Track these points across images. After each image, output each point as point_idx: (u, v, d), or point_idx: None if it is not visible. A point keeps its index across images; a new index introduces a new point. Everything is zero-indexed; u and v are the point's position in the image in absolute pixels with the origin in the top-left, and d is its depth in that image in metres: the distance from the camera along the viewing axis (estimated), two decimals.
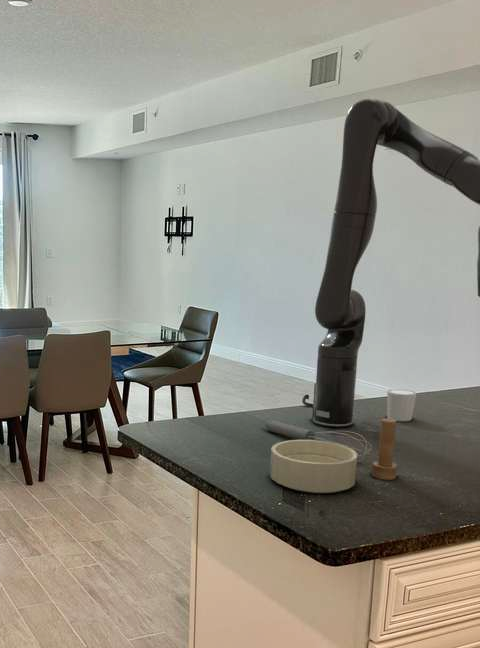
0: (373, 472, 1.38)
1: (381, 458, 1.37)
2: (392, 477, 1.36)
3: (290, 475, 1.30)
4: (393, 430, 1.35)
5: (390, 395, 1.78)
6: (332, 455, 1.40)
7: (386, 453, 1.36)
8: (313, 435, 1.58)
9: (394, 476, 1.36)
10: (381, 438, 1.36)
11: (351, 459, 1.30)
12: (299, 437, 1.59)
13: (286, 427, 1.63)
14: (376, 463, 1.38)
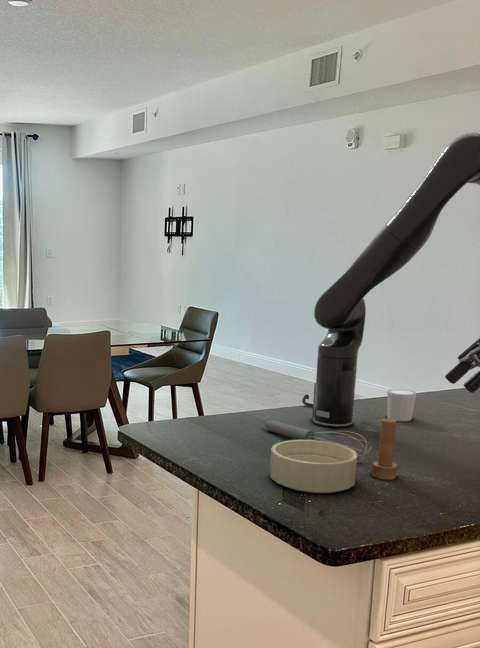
0: (373, 472, 1.38)
1: (381, 458, 1.37)
2: (392, 477, 1.36)
3: (290, 475, 1.30)
4: (393, 430, 1.35)
5: (390, 395, 1.78)
6: (332, 455, 1.40)
7: (386, 453, 1.36)
8: (313, 435, 1.58)
9: (394, 476, 1.36)
10: (381, 438, 1.36)
11: (351, 459, 1.30)
12: (299, 437, 1.59)
13: (286, 427, 1.63)
14: (376, 463, 1.38)
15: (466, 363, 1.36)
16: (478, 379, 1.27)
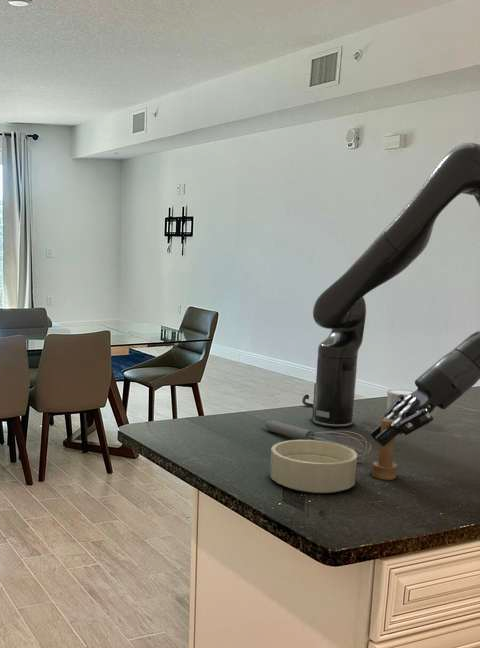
0: (373, 472, 1.38)
1: (381, 458, 1.37)
2: (392, 477, 1.36)
3: (290, 475, 1.30)
4: None
5: (390, 395, 1.78)
6: (332, 455, 1.40)
7: (386, 453, 1.36)
8: (313, 435, 1.58)
9: (394, 476, 1.36)
10: None
11: (351, 459, 1.30)
12: (299, 437, 1.59)
13: (286, 427, 1.63)
14: (376, 463, 1.38)
15: None
16: (388, 434, 1.34)
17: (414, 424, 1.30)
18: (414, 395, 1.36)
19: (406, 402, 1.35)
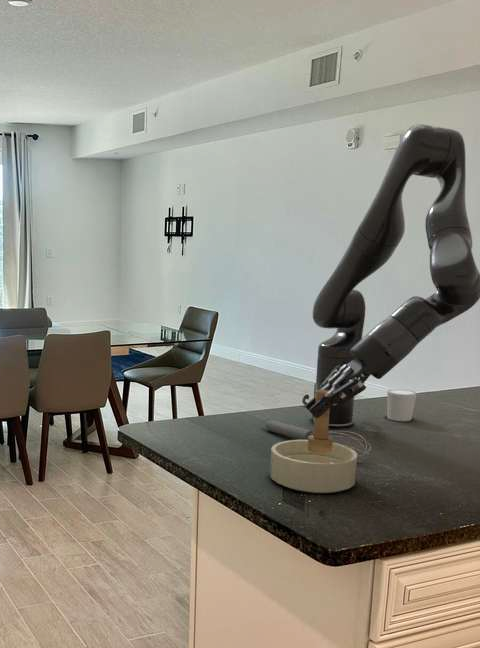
0: (308, 446, 1.32)
1: (316, 431, 1.31)
2: (327, 450, 1.31)
3: (290, 475, 1.30)
4: None
5: (390, 395, 1.78)
6: (332, 455, 1.40)
7: (321, 425, 1.30)
8: None
9: (329, 449, 1.31)
10: None
11: (351, 459, 1.30)
12: (299, 437, 1.59)
13: (286, 427, 1.63)
14: (312, 436, 1.33)
15: None
16: (321, 405, 1.28)
17: (347, 394, 1.24)
18: (350, 365, 1.30)
19: (341, 372, 1.30)
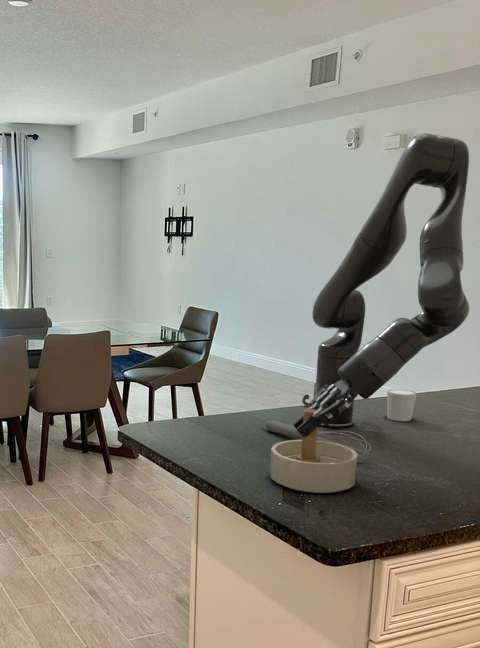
0: None
1: (304, 450, 1.32)
2: None
3: (290, 475, 1.30)
4: None
5: (390, 395, 1.78)
6: (332, 455, 1.40)
7: (309, 445, 1.32)
8: None
9: None
10: None
11: (351, 459, 1.30)
12: (299, 437, 1.59)
13: (286, 427, 1.63)
14: (299, 455, 1.34)
15: None
16: (309, 424, 1.29)
17: (333, 414, 1.26)
18: (337, 385, 1.31)
19: (328, 392, 1.31)
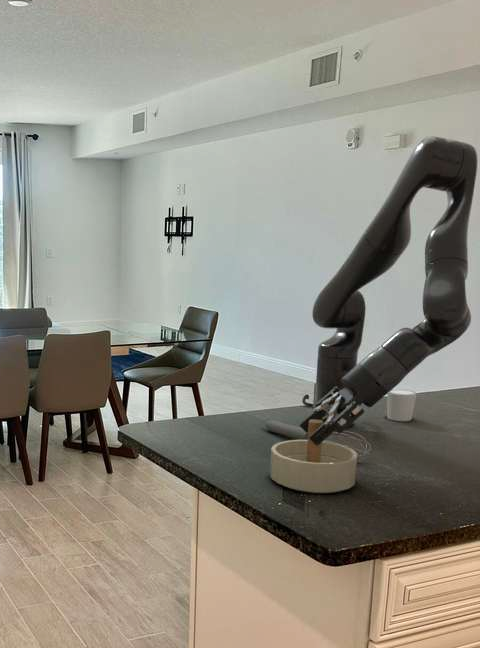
0: None
1: (309, 460, 1.34)
2: None
3: (290, 475, 1.30)
4: None
5: (390, 395, 1.78)
6: (332, 455, 1.40)
7: (314, 455, 1.34)
8: None
9: None
10: (308, 439, 1.34)
11: (351, 459, 1.30)
12: (299, 437, 1.59)
13: (286, 427, 1.63)
14: None
15: (319, 412, 1.37)
16: (321, 432, 1.28)
17: (347, 419, 1.26)
18: (341, 393, 1.33)
19: (332, 400, 1.33)
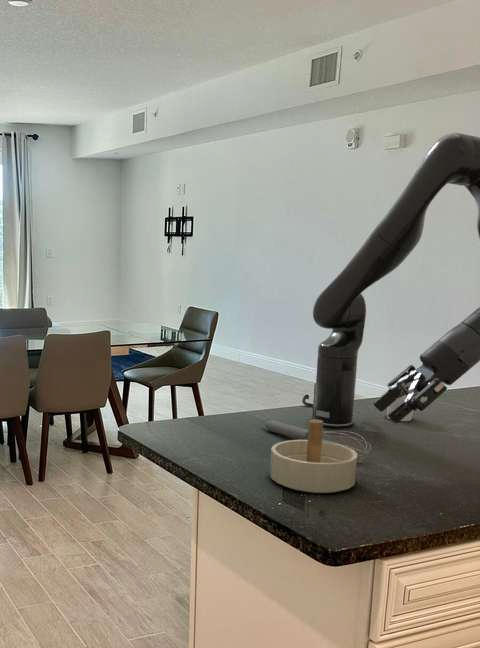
0: None
1: (309, 460, 1.34)
2: None
3: (290, 475, 1.30)
4: (319, 431, 1.32)
5: None
6: (332, 455, 1.40)
7: (314, 455, 1.34)
8: None
9: None
10: (308, 439, 1.34)
11: (351, 459, 1.30)
12: (299, 437, 1.59)
13: (286, 427, 1.63)
14: None
15: (394, 391, 1.35)
16: (402, 410, 1.26)
17: (430, 396, 1.24)
18: (419, 371, 1.31)
19: (409, 378, 1.31)
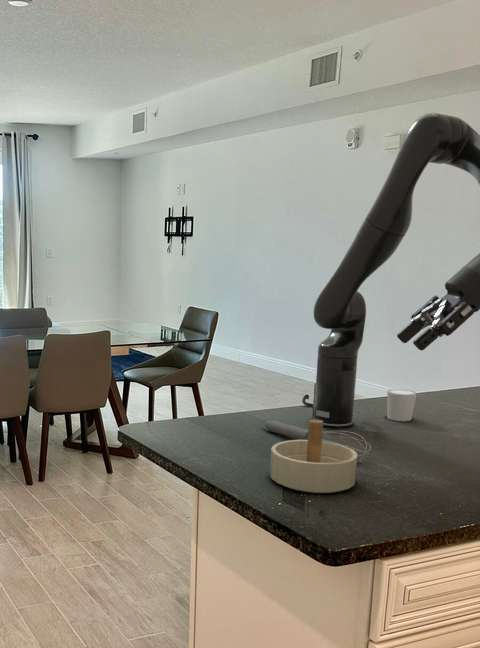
0: None
1: (309, 460, 1.34)
2: None
3: (290, 475, 1.30)
4: (319, 431, 1.32)
5: (390, 395, 1.78)
6: (332, 455, 1.40)
7: (314, 455, 1.34)
8: None
9: None
10: (308, 439, 1.34)
11: (351, 459, 1.30)
12: (299, 437, 1.59)
13: (286, 427, 1.63)
14: None
15: (418, 322, 1.33)
16: (427, 336, 1.24)
17: (457, 320, 1.21)
18: (444, 299, 1.29)
19: (434, 306, 1.29)
